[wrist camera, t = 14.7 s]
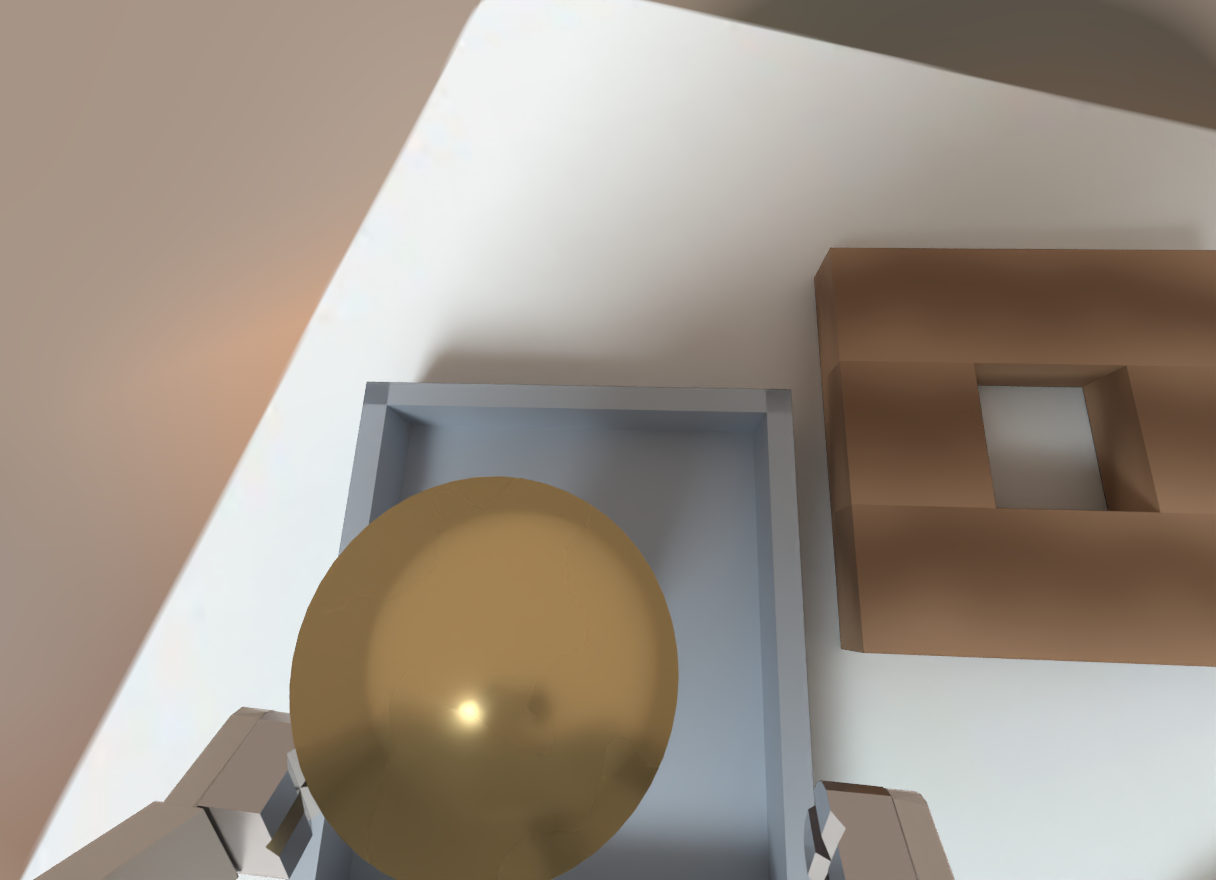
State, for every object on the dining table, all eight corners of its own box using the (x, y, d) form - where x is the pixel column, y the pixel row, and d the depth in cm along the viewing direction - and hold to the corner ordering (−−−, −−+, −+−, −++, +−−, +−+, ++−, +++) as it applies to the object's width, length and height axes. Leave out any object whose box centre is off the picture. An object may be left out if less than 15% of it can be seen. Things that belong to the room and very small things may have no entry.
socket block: (1285, 666, 19) (1359, 672, 17) (841, 649, 19) (863, 652, 18) (1180, 281, 23) (1230, 250, 21) (814, 277, 23) (830, 247, 21)
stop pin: (652, 735, 18) (679, 910, 7) (474, 727, 18) (253, 884, 8) (654, 553, 20) (679, 480, 9) (490, 548, 20) (325, 472, 9)
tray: (793, 933, 17) (825, 997, 14) (329, 904, 18) (272, 960, 15) (769, 419, 22) (790, 389, 19) (400, 411, 22) (366, 381, 20)
